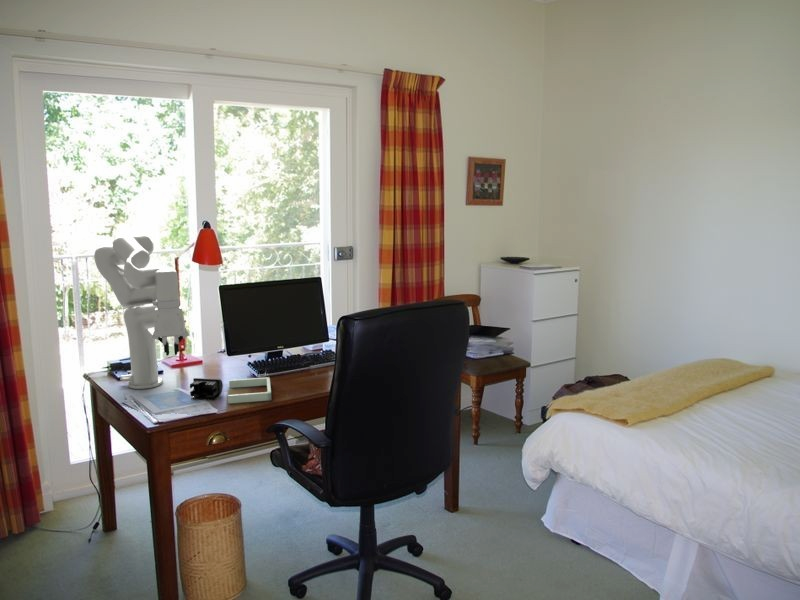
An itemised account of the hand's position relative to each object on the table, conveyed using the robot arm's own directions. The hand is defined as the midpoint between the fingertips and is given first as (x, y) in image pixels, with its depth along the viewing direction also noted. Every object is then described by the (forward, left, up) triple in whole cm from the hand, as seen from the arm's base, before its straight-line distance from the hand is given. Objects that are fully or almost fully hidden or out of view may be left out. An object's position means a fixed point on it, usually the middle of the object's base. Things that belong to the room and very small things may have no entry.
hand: (172, 353), depth 235 cm
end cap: (+11, 0, -17) cm, 21 cm away
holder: (+26, 0, -17) cm, 31 cm away
